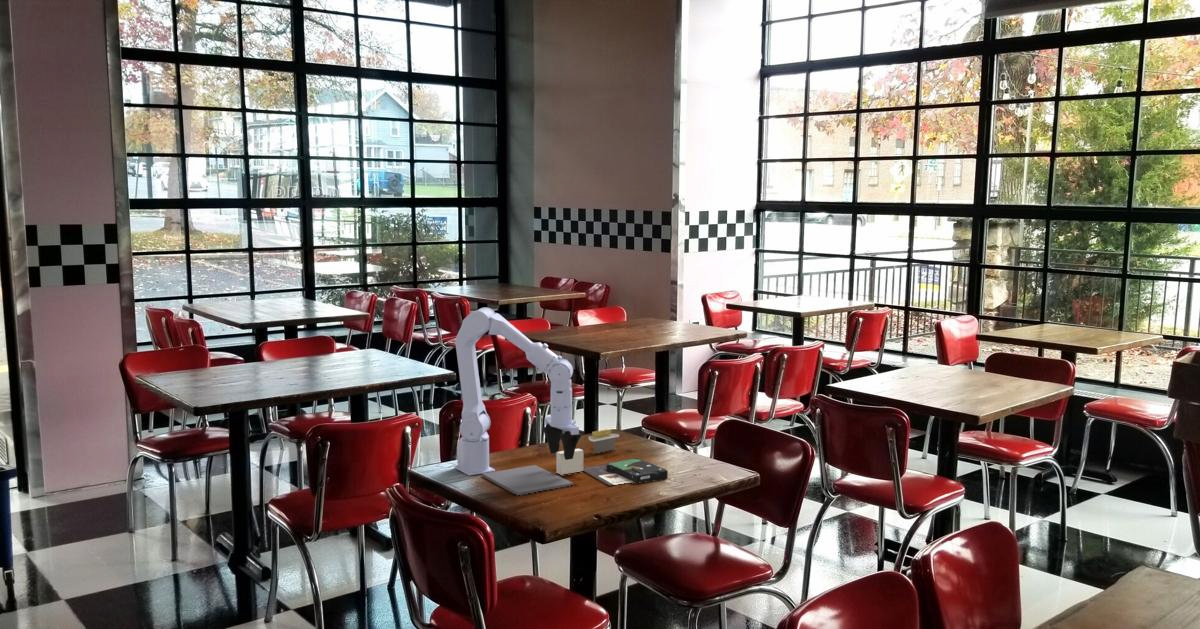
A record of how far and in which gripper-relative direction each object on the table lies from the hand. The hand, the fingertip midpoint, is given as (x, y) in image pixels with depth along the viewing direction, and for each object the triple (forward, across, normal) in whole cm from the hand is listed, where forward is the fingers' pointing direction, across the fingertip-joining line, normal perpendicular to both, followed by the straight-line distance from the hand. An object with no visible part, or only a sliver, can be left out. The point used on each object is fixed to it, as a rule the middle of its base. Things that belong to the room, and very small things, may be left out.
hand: (561, 455), depth 259 cm
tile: (+5, 0, -3) cm, 6 cm away
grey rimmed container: (+6, +14, -22) cm, 27 cm away
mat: (+5, -1, +11) cm, 12 cm away
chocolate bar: (+6, -8, -10) cm, 14 cm away
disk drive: (+6, -11, -17) cm, 21 cm away
